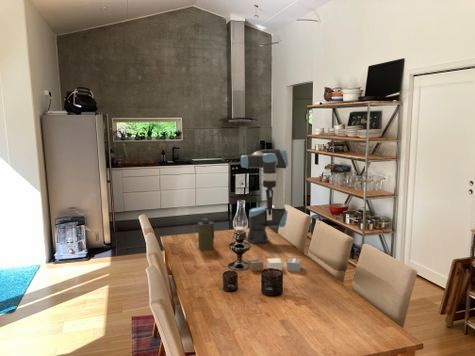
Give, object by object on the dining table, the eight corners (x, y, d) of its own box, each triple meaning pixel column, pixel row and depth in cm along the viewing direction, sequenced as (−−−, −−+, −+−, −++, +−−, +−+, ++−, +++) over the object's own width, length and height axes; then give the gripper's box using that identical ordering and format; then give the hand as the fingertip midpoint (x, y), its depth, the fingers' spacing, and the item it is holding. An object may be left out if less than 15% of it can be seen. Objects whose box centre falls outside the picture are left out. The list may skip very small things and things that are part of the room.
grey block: (288, 266, 222) (288, 257, 221) (300, 267, 220) (301, 258, 219) (286, 270, 215) (287, 262, 215) (299, 272, 214) (299, 263, 213)
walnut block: (247, 267, 222) (247, 258, 221) (259, 265, 224) (258, 257, 223) (251, 271, 215) (251, 262, 214) (263, 270, 217) (263, 261, 216)
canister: (195, 249, 253) (195, 220, 250) (201, 244, 263) (201, 216, 260) (211, 251, 250) (210, 221, 247) (216, 246, 259) (216, 217, 257)
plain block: (267, 267, 222) (267, 258, 221) (279, 266, 222) (279, 258, 222) (269, 271, 215) (269, 263, 214) (281, 270, 216) (282, 262, 215)
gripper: (262, 178, 227) (262, 217, 230) (263, 181, 214) (264, 222, 217) (274, 178, 227) (274, 217, 230) (277, 181, 214) (277, 222, 217)
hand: (269, 219), depth 224 cm, fingers closed
